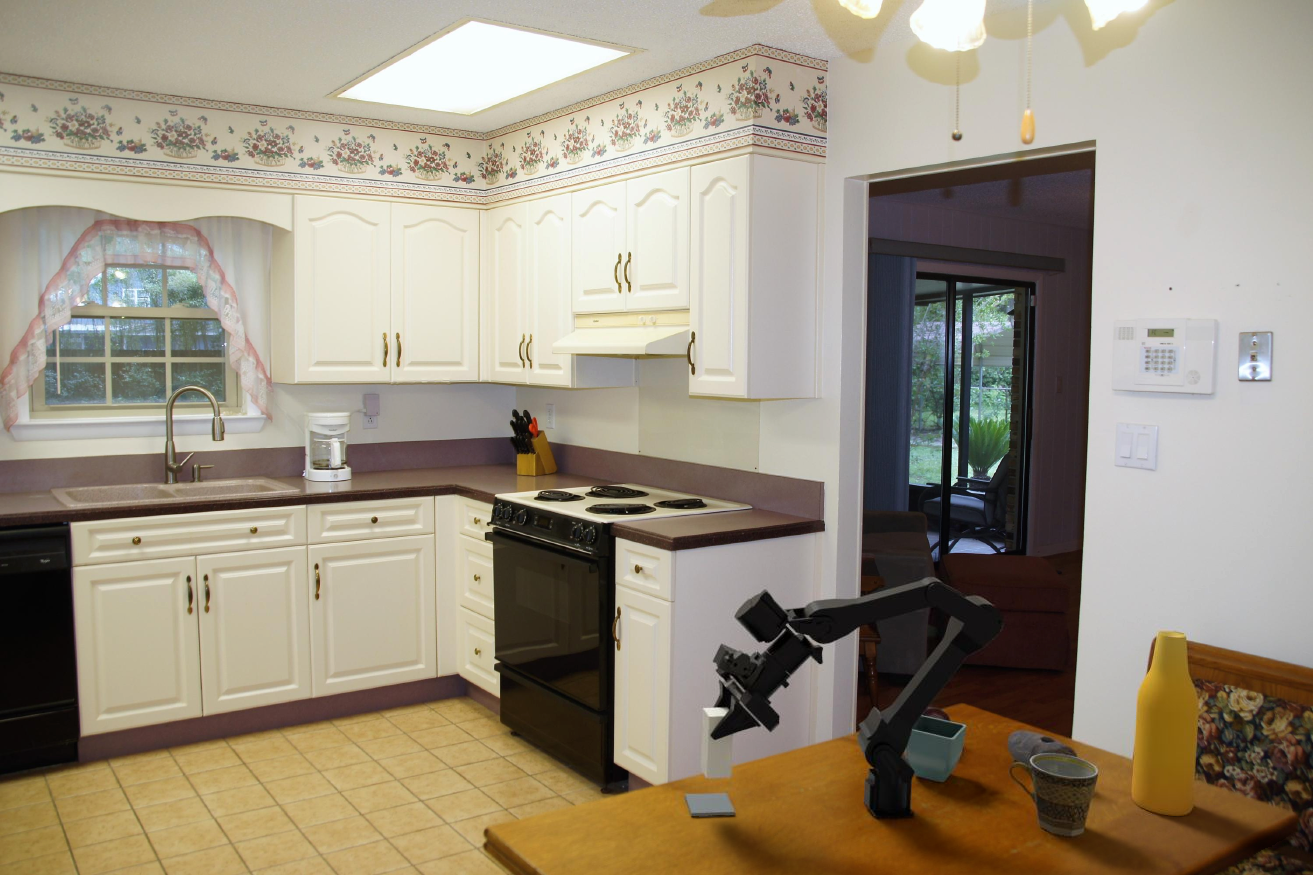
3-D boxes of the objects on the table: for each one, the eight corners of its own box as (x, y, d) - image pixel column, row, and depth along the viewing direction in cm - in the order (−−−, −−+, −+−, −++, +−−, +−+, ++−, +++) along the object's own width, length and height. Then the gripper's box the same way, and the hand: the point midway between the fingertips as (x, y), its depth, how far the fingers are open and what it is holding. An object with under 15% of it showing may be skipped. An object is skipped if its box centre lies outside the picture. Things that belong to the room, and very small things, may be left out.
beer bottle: (1206, 813, 161) (1217, 639, 159) (1161, 819, 158) (1172, 643, 157) (1161, 790, 170) (1171, 625, 168) (1118, 796, 167) (1128, 628, 165)
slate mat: (726, 796, 163) (726, 792, 163) (734, 815, 156) (734, 811, 156) (684, 797, 162) (684, 793, 162) (691, 816, 155) (691, 812, 155)
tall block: (724, 767, 160) (727, 707, 159) (731, 777, 156) (733, 715, 155) (700, 768, 159) (703, 707, 158) (706, 778, 155) (709, 716, 154)
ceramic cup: (1091, 819, 158) (1095, 758, 158) (1098, 846, 149) (1101, 782, 148) (1006, 805, 162) (1009, 746, 162) (1007, 831, 153) (1010, 768, 152)
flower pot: (965, 773, 175) (967, 724, 175) (951, 790, 168) (953, 738, 167) (916, 761, 180) (918, 713, 180) (900, 777, 173) (903, 727, 172)
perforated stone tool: (997, 757, 184) (999, 720, 183) (1020, 754, 185) (1022, 718, 185) (1055, 789, 170) (1057, 750, 169) (1079, 786, 171) (1081, 747, 171)
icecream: (970, 722, 183) (941, 702, 198) (933, 712, 183) (906, 693, 198) (960, 758, 183) (932, 736, 198) (923, 748, 183) (897, 726, 198)
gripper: (729, 614, 166) (663, 680, 164) (762, 644, 147) (688, 719, 146) (772, 659, 168) (707, 724, 166) (810, 694, 149) (737, 768, 148)
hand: (708, 732), depth 157 cm, fingers closed on tall block, 4 cm apart
